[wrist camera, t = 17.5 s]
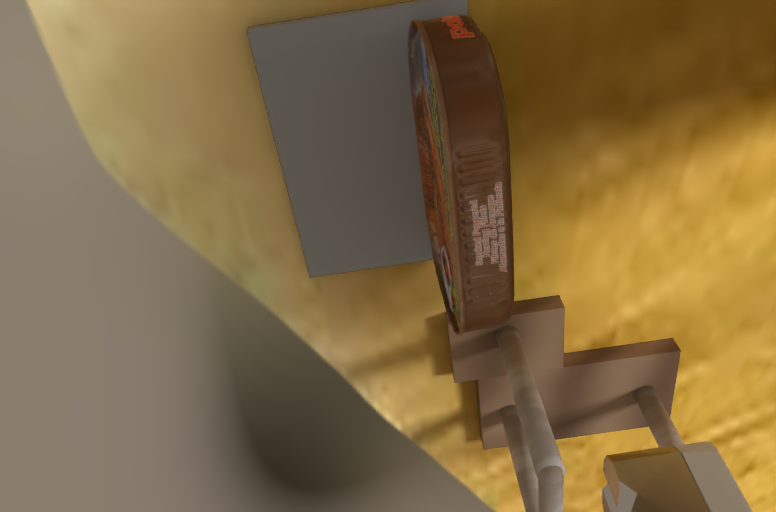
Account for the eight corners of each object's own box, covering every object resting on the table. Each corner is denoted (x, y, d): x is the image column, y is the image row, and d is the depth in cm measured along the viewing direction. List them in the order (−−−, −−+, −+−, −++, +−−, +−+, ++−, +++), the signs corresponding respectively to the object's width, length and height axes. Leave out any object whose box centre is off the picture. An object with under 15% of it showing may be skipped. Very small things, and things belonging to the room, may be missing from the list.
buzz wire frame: (681, 277, 40) (795, 434, 30) (661, 410, 47) (748, 574, 37) (445, 311, 40) (480, 478, 30) (460, 439, 47) (492, 608, 37)
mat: (464, -8, 30) (466, -4, 29) (482, 246, 38) (483, 251, 37) (247, 27, 30) (246, 30, 30) (310, 271, 38) (309, 277, 38)
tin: (400, -2, 29) (418, 58, 22) (470, -13, 29) (511, 44, 22) (431, 269, 38) (452, 374, 31) (486, 261, 38) (519, 364, 31)
